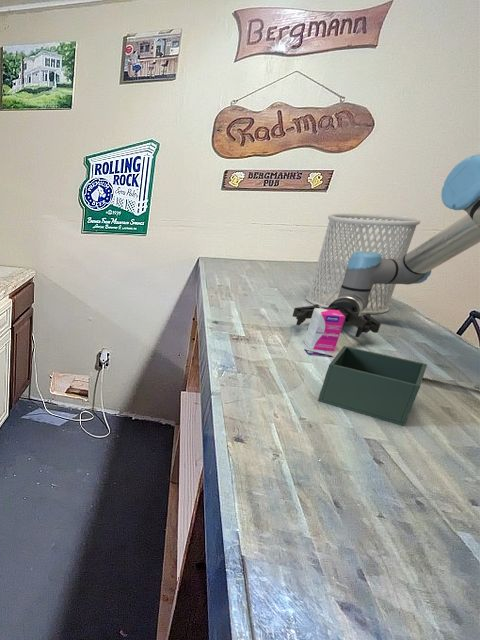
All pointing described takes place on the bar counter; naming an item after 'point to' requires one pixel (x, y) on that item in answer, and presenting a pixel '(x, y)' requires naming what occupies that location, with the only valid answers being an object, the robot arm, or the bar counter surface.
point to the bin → (372, 384)
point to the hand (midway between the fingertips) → (327, 326)
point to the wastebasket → (406, 222)
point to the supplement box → (324, 330)
